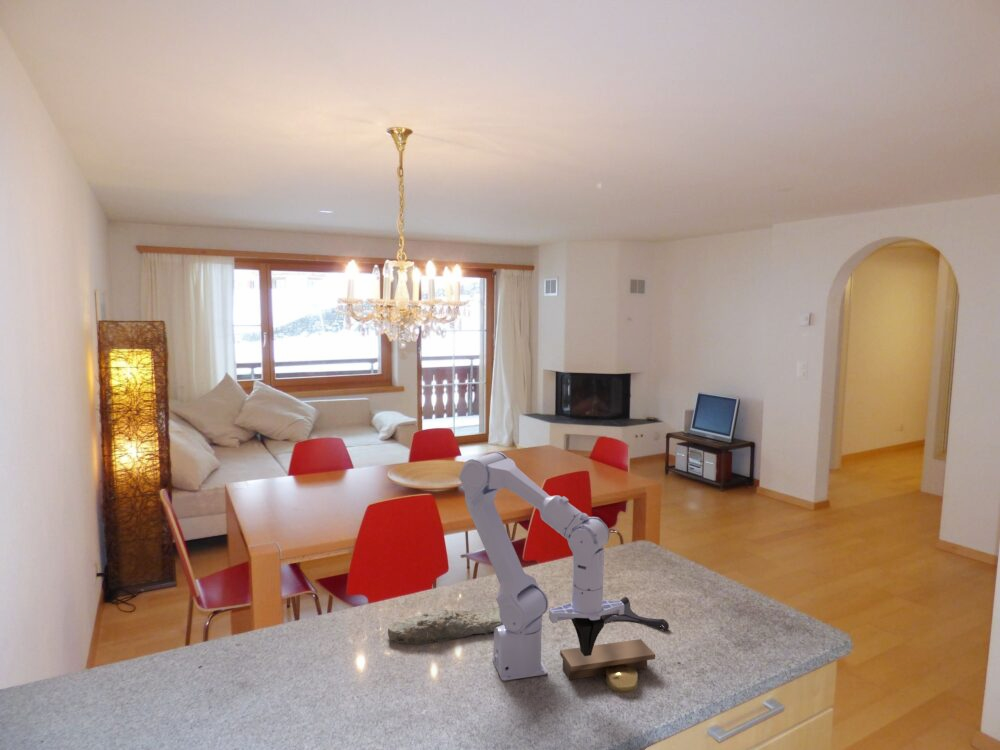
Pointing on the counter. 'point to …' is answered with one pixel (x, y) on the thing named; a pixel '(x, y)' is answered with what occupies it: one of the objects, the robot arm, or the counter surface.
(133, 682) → the counter surface
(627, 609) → the bracket
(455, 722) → the counter surface
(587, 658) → the walnut shelf
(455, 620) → the elongated rock
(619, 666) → the brass puck
